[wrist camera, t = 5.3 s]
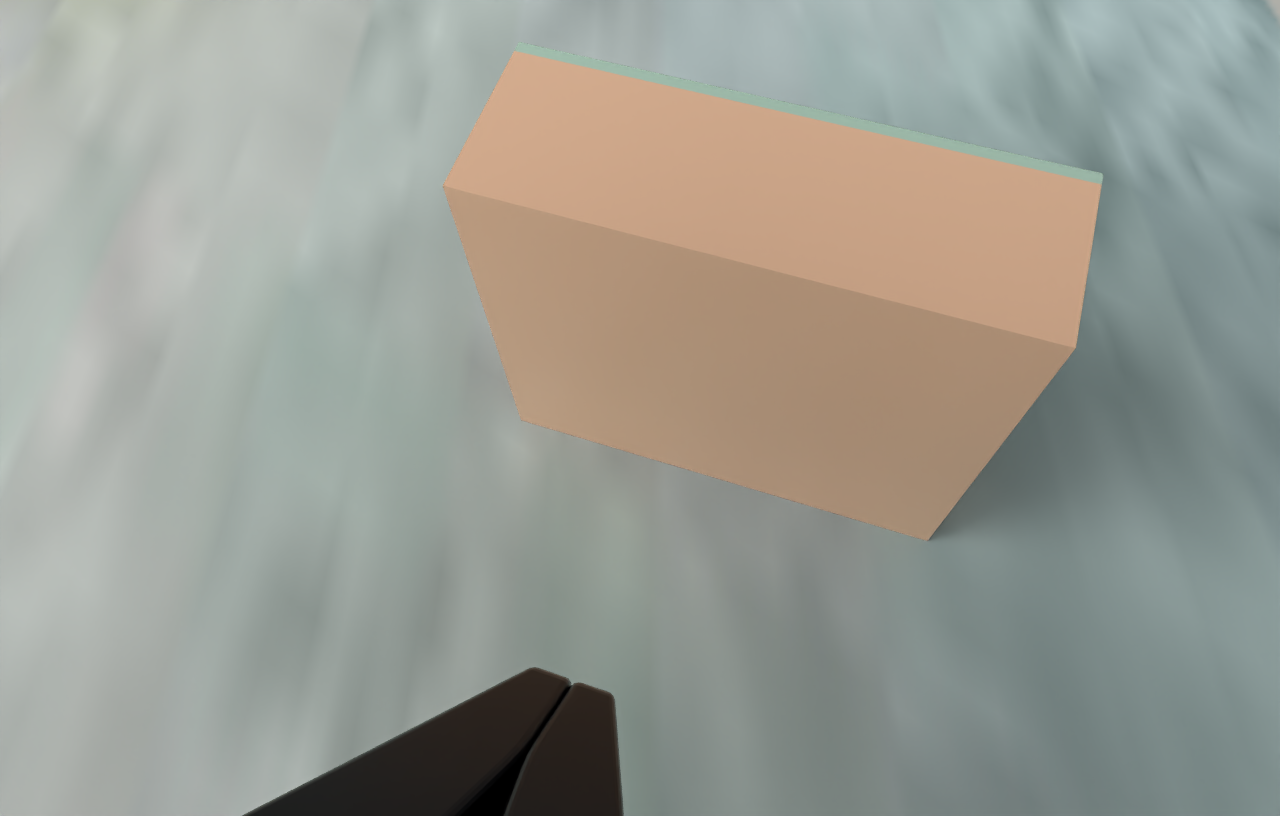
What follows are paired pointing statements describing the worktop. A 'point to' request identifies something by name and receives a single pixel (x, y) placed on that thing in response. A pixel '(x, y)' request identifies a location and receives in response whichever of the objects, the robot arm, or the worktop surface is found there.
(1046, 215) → the tile
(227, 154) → the worktop surface
